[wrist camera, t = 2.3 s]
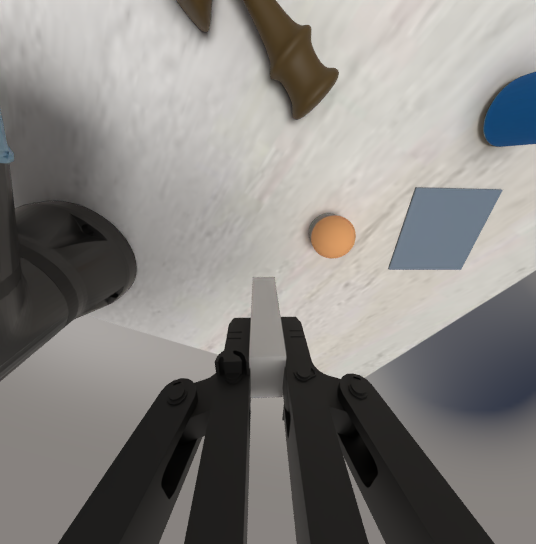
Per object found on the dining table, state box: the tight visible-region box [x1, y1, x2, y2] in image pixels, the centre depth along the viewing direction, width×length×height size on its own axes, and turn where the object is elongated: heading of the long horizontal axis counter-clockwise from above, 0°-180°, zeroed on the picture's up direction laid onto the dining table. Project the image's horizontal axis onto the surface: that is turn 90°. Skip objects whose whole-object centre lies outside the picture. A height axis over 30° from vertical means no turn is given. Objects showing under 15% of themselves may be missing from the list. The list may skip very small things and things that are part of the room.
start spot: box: [309, 213, 337, 240], centre depth 29 cm, size 5×5×1 cm
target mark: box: [389, 188, 502, 270], centre depth 30 cm, size 12×12×1 cm
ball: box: [311, 215, 356, 258], centre depth 26 cm, size 6×6×6 cm
